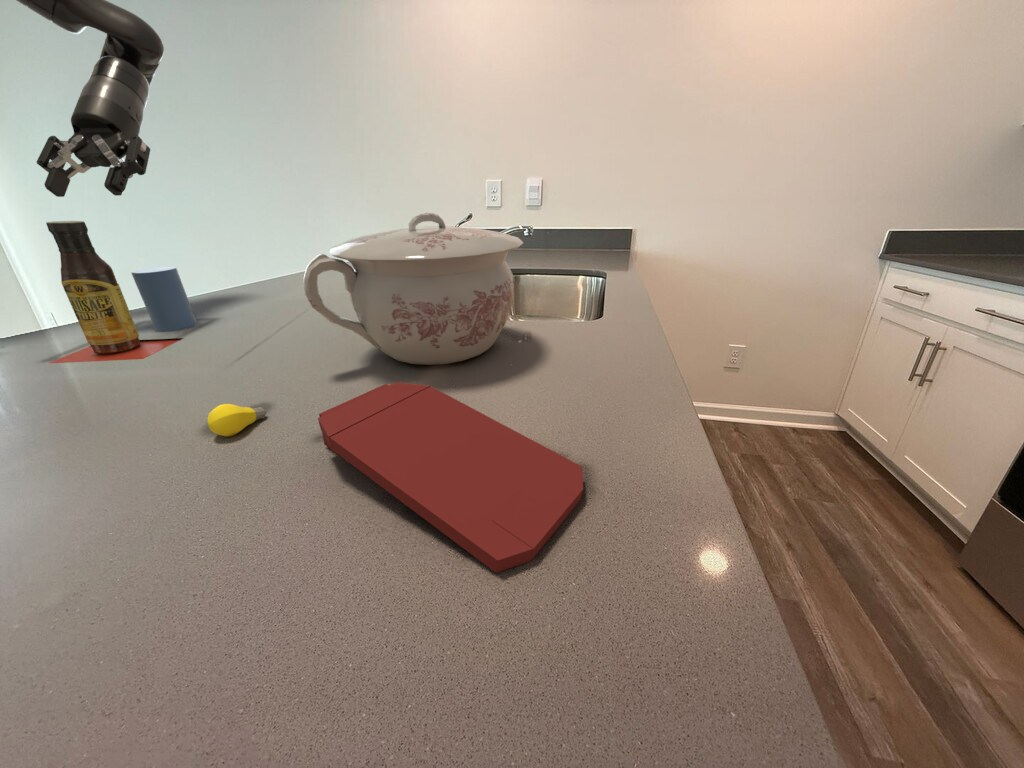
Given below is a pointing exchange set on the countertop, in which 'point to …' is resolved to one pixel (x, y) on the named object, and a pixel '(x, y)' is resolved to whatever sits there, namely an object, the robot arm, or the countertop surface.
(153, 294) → the blue can
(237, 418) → the light bulb
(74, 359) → the board
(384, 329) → the chamber pot
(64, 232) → the sauce bottle
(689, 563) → the countertop surface
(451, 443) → the red chamfered slab
